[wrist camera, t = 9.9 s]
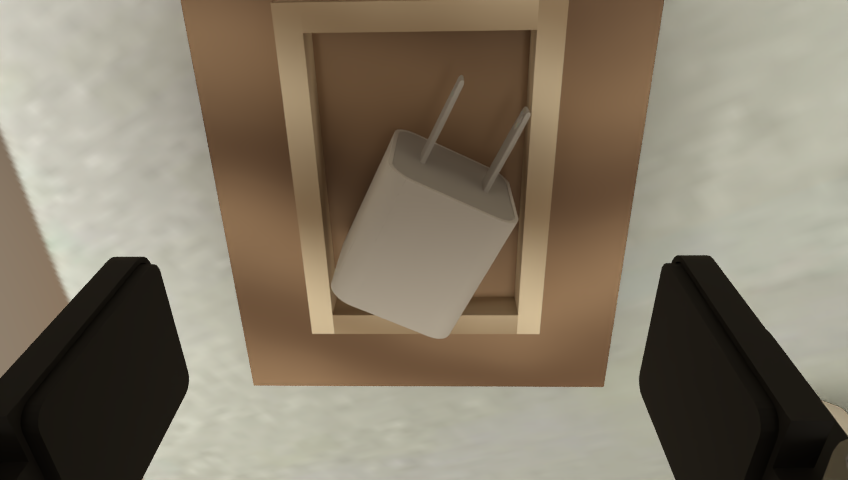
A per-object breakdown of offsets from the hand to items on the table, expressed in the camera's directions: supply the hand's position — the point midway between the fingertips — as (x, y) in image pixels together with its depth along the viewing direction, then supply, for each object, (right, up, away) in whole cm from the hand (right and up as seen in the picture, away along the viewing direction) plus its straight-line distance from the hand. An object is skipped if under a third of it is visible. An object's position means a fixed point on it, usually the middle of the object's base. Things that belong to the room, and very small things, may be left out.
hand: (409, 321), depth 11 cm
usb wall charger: (+1, +4, +9) cm, 10 cm away
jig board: (0, +4, +10) cm, 11 cm away
